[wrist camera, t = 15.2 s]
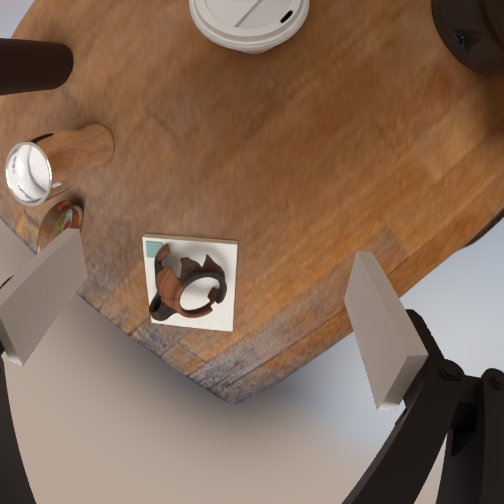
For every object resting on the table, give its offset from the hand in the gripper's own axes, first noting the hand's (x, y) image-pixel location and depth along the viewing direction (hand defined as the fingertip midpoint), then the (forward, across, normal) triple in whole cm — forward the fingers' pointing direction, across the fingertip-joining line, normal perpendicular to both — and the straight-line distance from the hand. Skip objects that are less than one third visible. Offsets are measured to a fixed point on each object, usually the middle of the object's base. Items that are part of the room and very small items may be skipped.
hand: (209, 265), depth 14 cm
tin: (+27, -26, -13) cm, 40 cm away
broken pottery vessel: (+26, -7, -16) cm, 31 cm away
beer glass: (+27, -20, +1) cm, 34 cm away
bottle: (+27, -27, +13) cm, 40 cm away
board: (+27, -6, -19) cm, 33 cm away
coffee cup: (+27, 0, +16) cm, 31 cm away
